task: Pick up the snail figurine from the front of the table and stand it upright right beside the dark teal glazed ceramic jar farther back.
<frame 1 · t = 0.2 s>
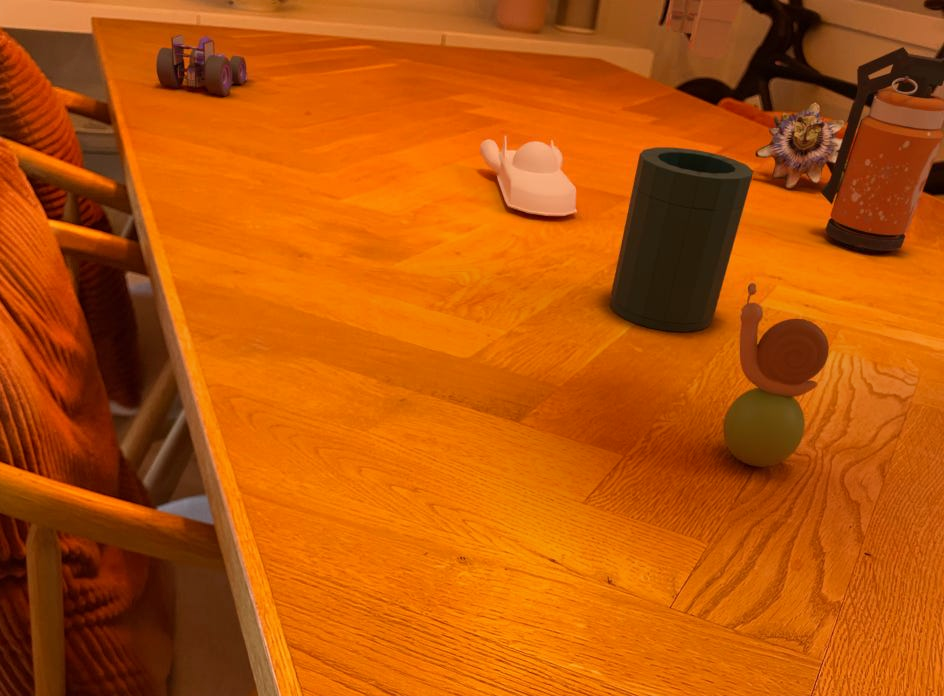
hand: (691, 43, 58), 24 cm above the table, tool pointing down, fingers open, 8 cm apart
jar: (660, 311, 92), on the table
canister: (851, 243, 119), on the table
snail figurine: (744, 462, 70), on the table
white domed toy: (529, 197, 119), on the table
toy race car: (209, 86, 146), on the table
passion flower: (794, 184, 139), on the table
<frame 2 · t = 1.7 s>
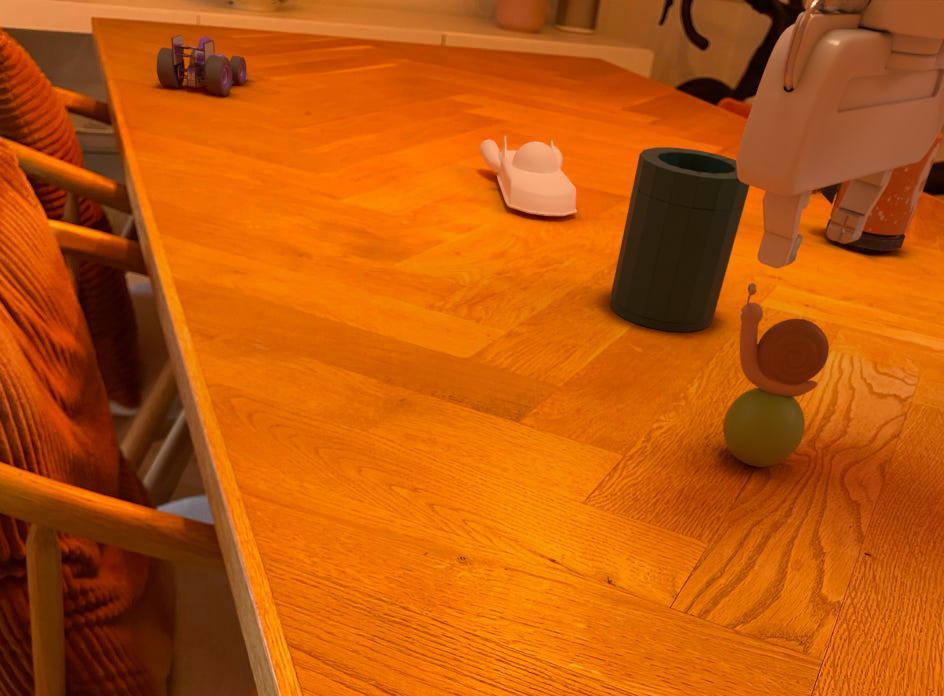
hand: (809, 251, 61), 15 cm above the table, tool pointing down, fingers open, 8 cm apart
nothing on the table moved.
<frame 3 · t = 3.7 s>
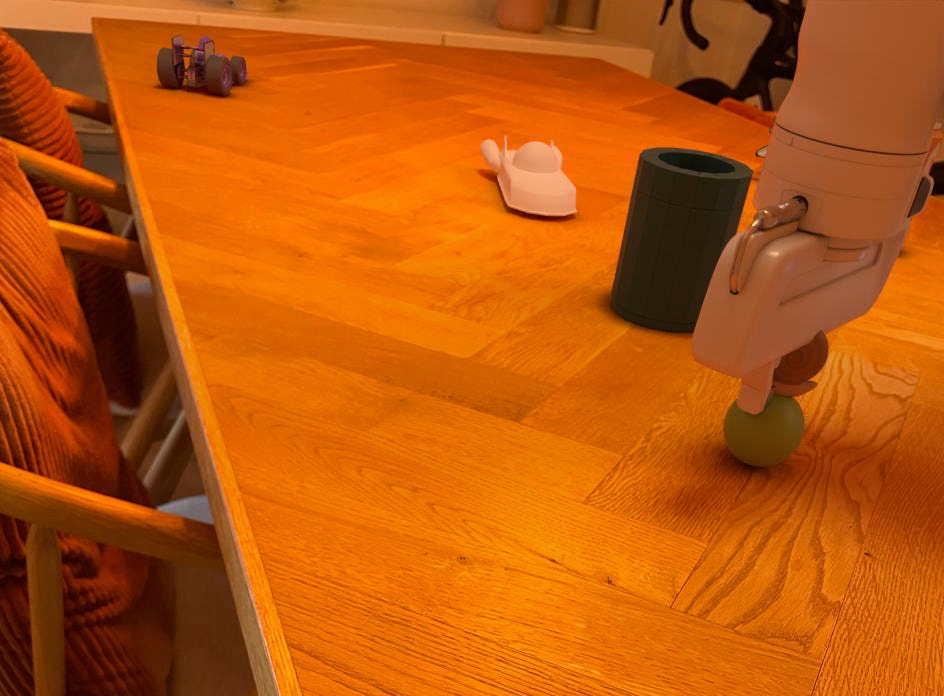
hand: (764, 401, 68), 4 cm above the table, tool pointing down, fingers closed on snail figurine, 2 cm apart
snail figurine: (744, 462, 70), on the table, touching gripper
everything else where it was.
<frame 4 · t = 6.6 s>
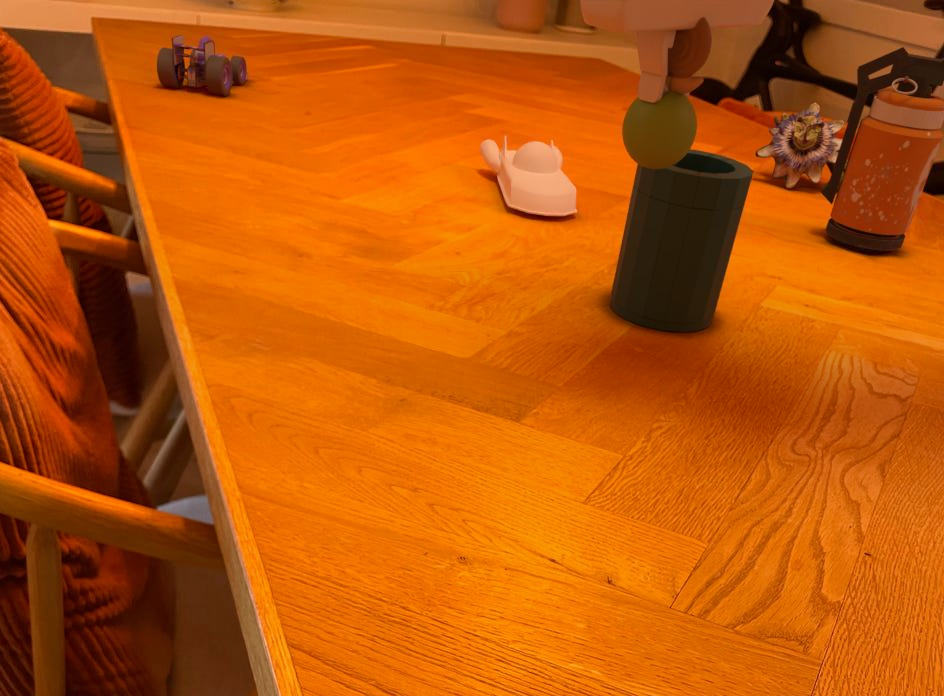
hand: (662, 99, 72), 19 cm above the table, tool pointing down, fingers closed on snail figurine
snail figurine: (644, 169, 75), point 14 cm above the table, touching gripper
everything else where it was.
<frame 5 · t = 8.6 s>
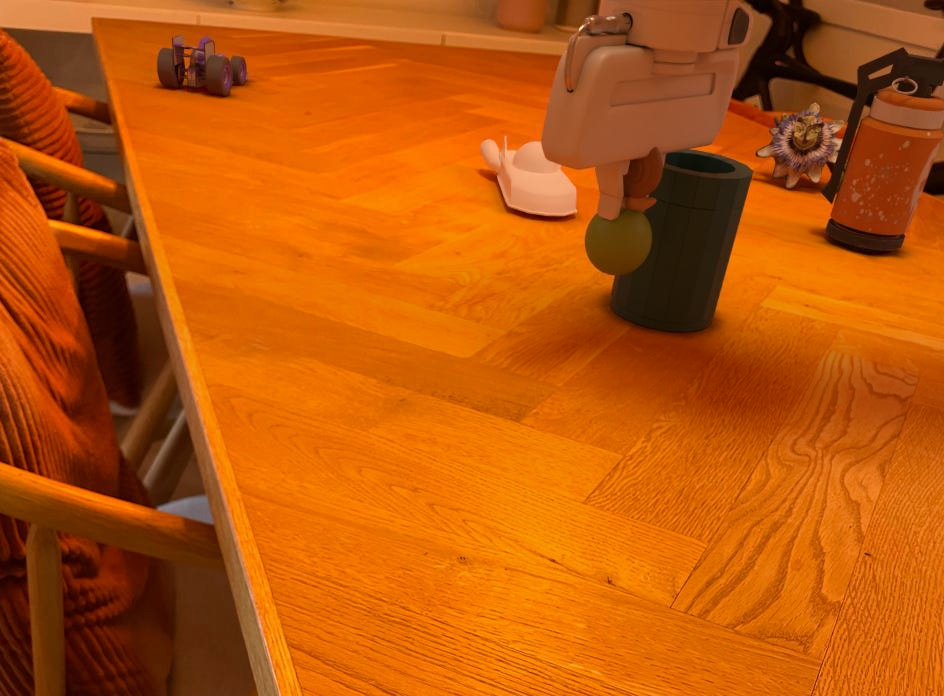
hand: (620, 214, 79), 10 cm above the table, tool pointing down, fingers closed on snail figurine
snail figurine: (605, 273, 82), point 5 cm above the table, touching gripper
everything else where it was.
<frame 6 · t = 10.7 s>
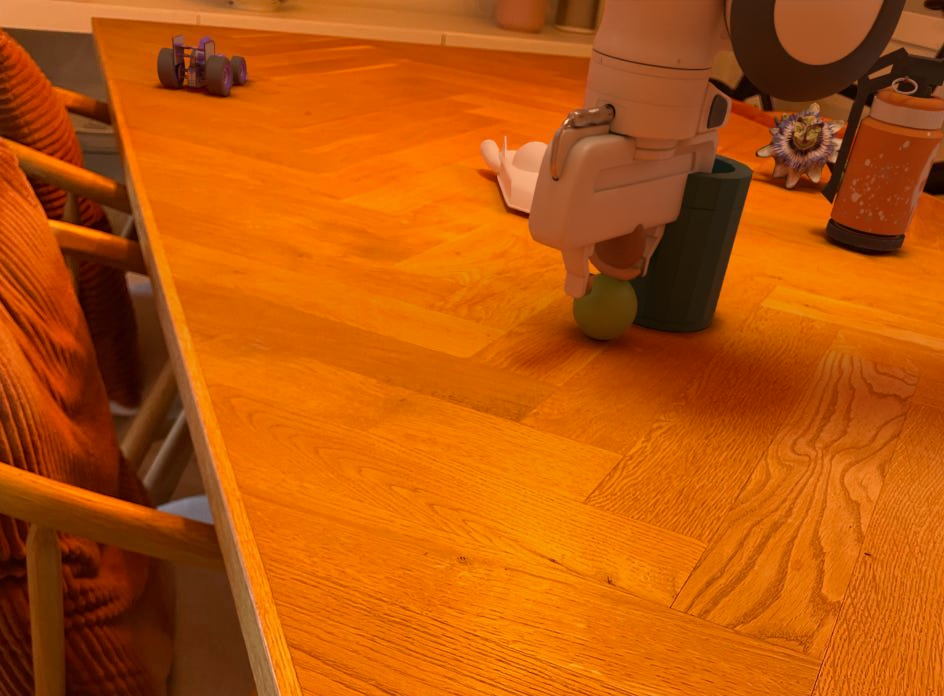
hand: (605, 285, 83), 5 cm above the table, tool pointing down, fingers open, 7 cm apart
snail figurine: (593, 337, 86), on the table
everything else where it was.
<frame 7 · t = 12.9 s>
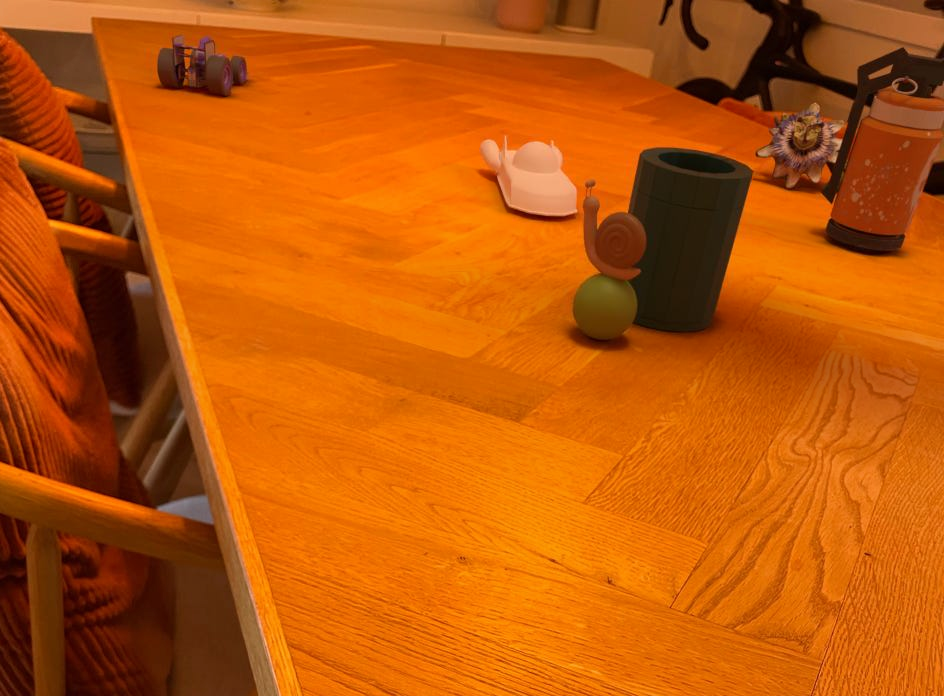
nothing on the table moved.
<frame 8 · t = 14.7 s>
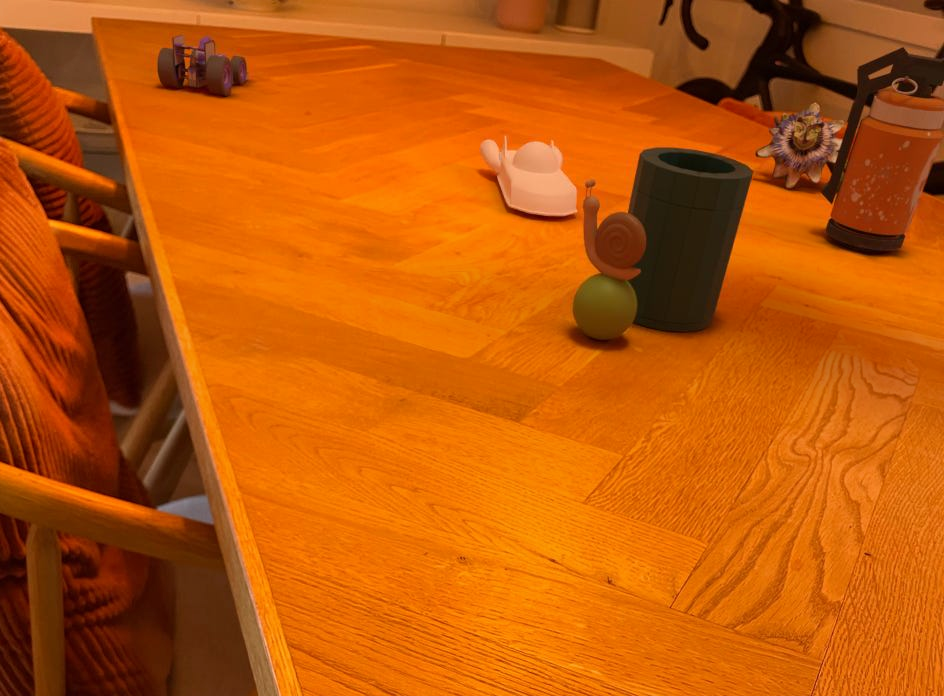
nothing on the table moved.
at the end: snail figurine 10.6 cm from the jar (horizontally); snail figurine tilted 0°; the gripper is holding nothing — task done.
